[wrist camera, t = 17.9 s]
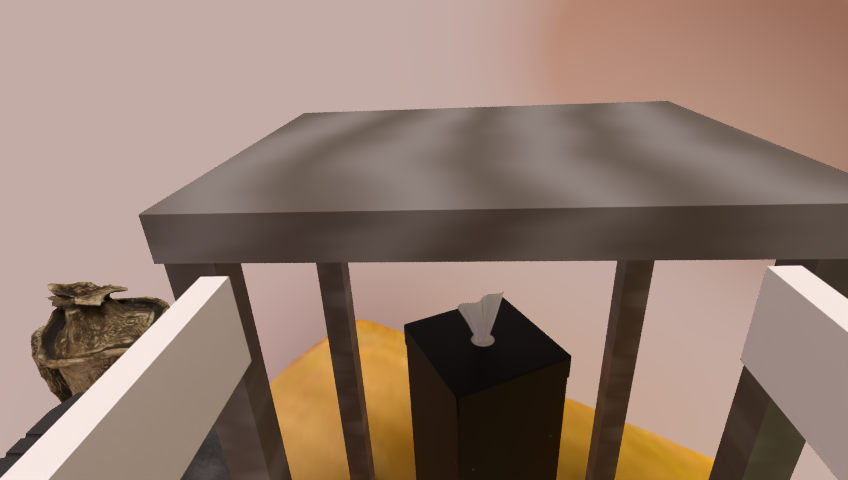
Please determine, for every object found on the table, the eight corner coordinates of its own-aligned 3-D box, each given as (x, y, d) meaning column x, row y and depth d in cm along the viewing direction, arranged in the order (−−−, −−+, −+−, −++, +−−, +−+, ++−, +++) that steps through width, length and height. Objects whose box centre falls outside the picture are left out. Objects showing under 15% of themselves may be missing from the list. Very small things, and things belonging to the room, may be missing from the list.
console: (603, 477, 49) (667, 101, 33) (687, 745, 31) (920, 202, 15) (357, 470, 51) (304, 113, 35) (301, 717, 33) (138, 214, 17)
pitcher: (216, 697, 34) (64, 373, 22) (65, 578, 42) (-111, 290, 30) (311, 556, 43) (243, 267, 30) (171, 480, 51) (71, 225, 38)
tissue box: (420, 550, 43) (400, 282, 31) (494, 514, 45) (502, 255, 34) (461, 644, 36) (456, 350, 24) (545, 595, 39) (577, 310, 27)
